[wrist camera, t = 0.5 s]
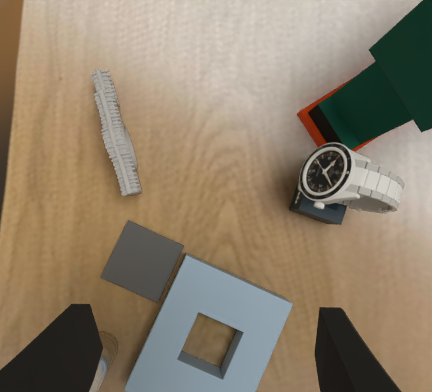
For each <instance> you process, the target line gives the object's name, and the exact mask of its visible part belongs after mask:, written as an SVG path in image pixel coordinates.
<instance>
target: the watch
mask: <svg viewBox="0 0 432 392" xmlns="http://www.w3.org/2000/svg"><path fill="white" fill-rule="evenodd" d="M370 162H371V160H370V159H369V158H367V157H365V156H362V155H360V154H358V153H356V152H354V151H352V150H350V149H348V148H347V147H346V146H345V145H343V144H340V143H334V142H333V143H328V144H324V145H322V146H320V147H318V148H317V149H316V150H314V151H313V152H312V153H311V154H310V155H309V156H308V157H307V159H306V160H305V162H304V164H303V166H302V168H301V171H300V176H299V181H298V184H297V187H296V191H295V194H294V197H293V200H292V203H291V206H290V209H289V210H290V211H293V212H296V213H299V214H301V215H304V216H307V217H310V218H313V219H315V220H318V221H321V222H324V223H326V224H340V225H341V223H342V220H343V217H344V214H345V211H346V207H347V206H349V207H350V208H352V209H357V211H362V210H363V211H369V212H377V213H387V212H390V211H391V212H394V211H396V210H397V208H398V205H399V202H400V198H401V195H402V192H403V188H404V182H403V180H402V179H401V178H400V177H399V176H397V175H396V174H394V173H393V172H391V171H388V170H386V169H384V168H382V167H379V166H377V165H374V164H371V163H370Z"/></svg>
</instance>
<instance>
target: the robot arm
mask: <svg viewBox="0 0 432 392" xmlns="http://www.w3.org/2000/svg"><path fill="white" fill-rule="evenodd" d="M102 350H103V345H102V342H101V339H100V335H99V332H98V329H97V326H96V322H95V319H94V316H93V313H92V309H91V306H90V304H71V305H70V306H69V307H68V308H67V309H66V310H65V311H64V312H63V313H61V314H60V315H59V316H58V317H57V318H56V319H55V320H54V321H53V322H52V323H51V324H50V325H49V326H48V327H47V328H46V329H45V330H44V331H43V332H42V333H40V334H39V335H38V336H37V337H36V338H35V339H34V340H33V341H32V342H31V343H30V344H29V345H28V346H27V347H26V348H24V349H23V350H22V351H21V352H20V353H19V354H18V355H17V356H16V357H15V358H14V359H13V360H11V361H10V362H9V363H8V364H7V365H6V366H5V367H3V368H2V369H1V370H0V392H89V391H90V388H91V386H92V383H93V381H94V378H95V375H96V371H97V368H98V365H99V361H100V358H101V354H102ZM315 360H316V367H317V374H318V380H319V387H320V391H321V392H401V390H400V389H399V388H398V387H397V385H396V384H395V383H394V382H393V380H392V379H391V378H390V376H389V375H388V374H387V372H386V371H385V370H384V368H383V367H382V366H381V365H380V363H379V362H378V361H377V359H376V358H375V356H374V355H373V354H372V352H371V351H370V350H369V348H368V347H367V345H366V344H365V342H364V341H363V339H362V338H361V337H360V335H359V334H358V332H357V331H356V329H355V328H354V326H353V325H352V323H351V321H350V320H349V318H348V317H347V315H346V313H345V312H344V310H343V309H341V308H325V307H320V310H319V318H318V327H317V336H316V345H315Z"/></svg>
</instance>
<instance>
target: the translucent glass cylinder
mask: <svg viewBox="0 0 432 392" xmlns="http://www.w3.org/2000/svg"><path fill="white" fill-rule="evenodd" d="M99 335H100V339H101V342H102V345H103V350H102V354H101V358H100V361H99V365H98V368H97V371H96V375H95V378H94V381H93V383H92V386H91V388H90V391H89V392H97V391H98V389H99V387H100V385H101V383H102V381H103V379H104V377H105V375H106V373H107V371H108V369H109V367H110V365H111V363H112V361H113V359H114V357H115V355H116V353H117V350H118V344H117V341H116V339H115V337H114V336H113V335H112V334H110V333H108V332H99Z"/></svg>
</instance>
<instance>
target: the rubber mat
mask: <svg viewBox="0 0 432 392" xmlns="http://www.w3.org/2000/svg"><path fill="white" fill-rule="evenodd" d="M183 247H184V246H183V245H181V244H179V243H177V242H174V241H172V240H170V239H168V238H166V237H164V236H161V235H159V234H157V233H155V232H153V231H150V230H148V229H146V228H144V227H142V226H140V225H137V224H135V223H133V222H131V221H129V220H128V222H127V224H126V226H125V228H124V230H123V232H122V234H121V236H120V238H119V240H118V242H117V244H116V246H115V248H114V250H113V252H112V255H111V257H110V259H109V261H108V263H107V265H106V267H105V269H104V271H103V273H102V275H101V278H103V279H105V280H107V281H110V282H112V283H114V284H116V285H119V286H121V287H123V288H125V289H128V290H130V291H132V292H134V293H136V294H139V295H141V296H143V297H145V298H148V299H150V300H152V301H154V302H157V303H158V301H159V299H160V296H161V294H162V292H163V290H164V288H165V286H166V284H167V281H168V279H169V277H170V275H171V273H172V271H173V269H174V266H175V264H176V262H177V260H178V258H179V256H180V254H181V251H182V249H183Z"/></svg>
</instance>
